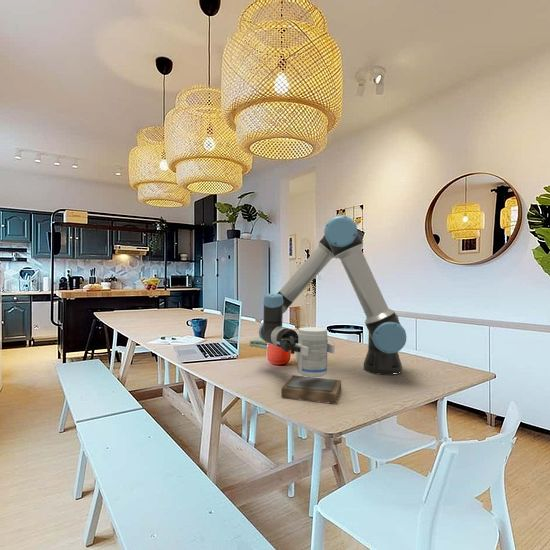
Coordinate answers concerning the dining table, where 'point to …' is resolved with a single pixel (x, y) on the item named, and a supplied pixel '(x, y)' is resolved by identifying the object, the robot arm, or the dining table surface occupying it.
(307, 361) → the supplement tub
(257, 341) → the towel
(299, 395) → the dock
